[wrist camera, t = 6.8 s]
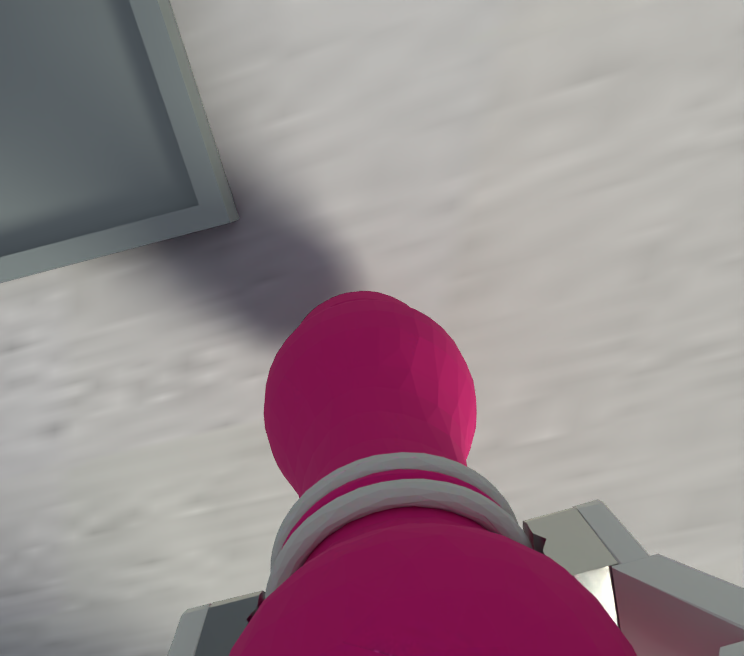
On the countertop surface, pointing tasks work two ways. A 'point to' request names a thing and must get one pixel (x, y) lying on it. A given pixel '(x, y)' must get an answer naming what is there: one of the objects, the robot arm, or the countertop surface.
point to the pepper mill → (399, 507)
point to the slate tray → (99, 134)
